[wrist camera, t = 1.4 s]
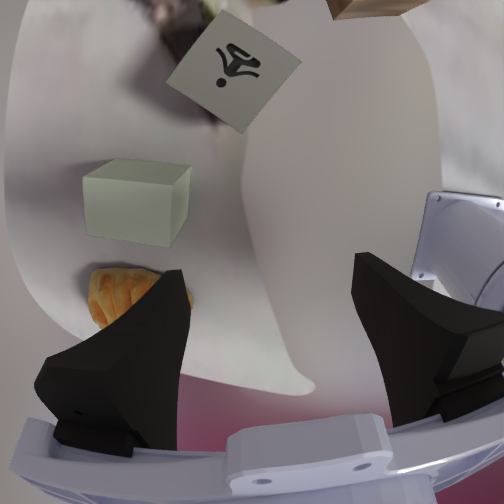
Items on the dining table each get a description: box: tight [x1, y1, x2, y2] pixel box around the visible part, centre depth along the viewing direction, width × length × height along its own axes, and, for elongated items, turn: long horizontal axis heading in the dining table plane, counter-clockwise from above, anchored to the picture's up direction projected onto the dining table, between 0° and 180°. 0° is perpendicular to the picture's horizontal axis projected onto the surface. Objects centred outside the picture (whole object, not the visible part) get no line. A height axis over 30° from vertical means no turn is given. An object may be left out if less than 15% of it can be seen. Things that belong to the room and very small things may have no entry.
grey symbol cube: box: [166, 9, 302, 134], centre depth 16 cm, size 5×5×5 cm
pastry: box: [87, 267, 194, 329], centre depth 25 cm, size 9×7×4 cm
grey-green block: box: [82, 159, 191, 248], centre depth 20 cm, size 6×4×5 cm, turn 82°
